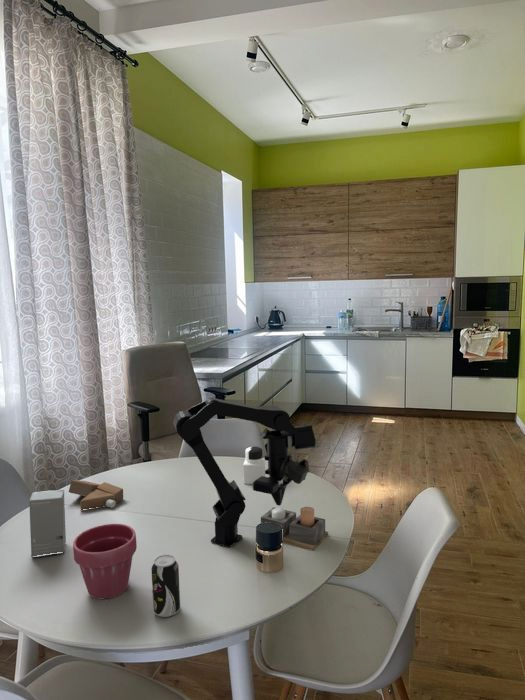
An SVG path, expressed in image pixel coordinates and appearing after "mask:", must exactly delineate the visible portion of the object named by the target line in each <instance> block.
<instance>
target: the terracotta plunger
mask: <svg viewBox="0 0 525 700" xmlns="http://www.w3.org/2000/svg"><path fill="white" fill-rule="evenodd" d="M299 512H300V514H299V515H300V524H301V525H303V526H307V527H311V528H312V527H313V526H314V517H315V508H314V507H312V506H303V507H301V508H300V511H299Z"/></svg>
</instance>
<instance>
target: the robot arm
mask: <svg viewBox="0 0 525 700" xmlns="http://www.w3.org/2000/svg"><path fill="white" fill-rule="evenodd" d="M215 416H222V417H227V418H231V419H232V418H233V419H238V420H239V419H240V420H242V421H243V420H244V421H250V422H253V423H254V422H255V423H257V424H260V425H262V426H264V427H265V428H264V430H263V431H262V432H260V433H259V436H260V437H261V439H263V440H267V454H266V455H265V456H264V458H265V461H267V469H265V475H269V476H265V477H264V476H261V477H260V478H258V479H257V480H255V481H254V482H253V484H252V490H253V491H255V492H258V493H264V494H267V495H268V494H269V495H271V498H273V501H274V503H275V504H276V506H281V505H282V504H283V500H284V496H285V493H286V489H287V486H288V485H289V484H291V483H292V482H294V483H295V484H297V485H298V484H301V483H302V482H303V481H305V480H306V477H307V475H308V473H310V466H309V461H308V460H306V459H304V458H303V459H302V460H301V461H297V460H295V461H294V460H293V456H292V454H291V453H289V447H290V448H292V450H294V451H299V450H308V449H309V450H310V449H314V448H315V447H316V443H317V441H316V440H317V439H316V437H315V433H314V430H313V425H312V424H310V423H306V424H305V423H304V424H301V425H293V424H292V422H291V417H290V415H289V413H288V412H287V411H286V410H285V409H283V408H282V407H281V406H279V405H266V404H265V405H260V406H258V405H256V406H255V405H251V404H245V403H241V402H234V401H229V400H225V399H218V398H216V397H213V396H212V397H208V398H206V399H205V400H203V401H201V402H200V403H197V404H196V405H193V406H191V407H190V408H188V409H187V410H181V411H178V412H177V413H175V416H174V417H173V425H174V428H175V431H176V433H177V434H178V436H179V437H180V438H181V439H182V440H183V441H184V442H185V443H186V445H188V446H189V447H190V448H191V449H192V451H193V452H194V454H195V455H196V457H197V459H198V460H199V462H200V464H201V466H202V467H203V469H204V470H205V472H206V473H207V476H208V477H209V479H210V481H211V483H212V484H213V485H214V487H215V490H216V494H217V496H218V500H217V501H216V502H215V503H214V504H213V506H212V510H213V512H214V514H215V521H214V537H212V538H211V539H210V542H211V543H213V544H217V545H220V546H224V547H227V548H231V547H232V546H234V545H235V544H236V543H237V542H238V541H239V540H241V539H243V535H241V534H239V533H238V529H239V528H238V524H239V520H240V518H241V515H242V514H243V513H244V511H245V509H246V507H247V506H246V503H245V501H246V500H247V499H246V497H245V495H244V494H243V492H242V491H241V489H240V487H239V485H238V484H237V482H236V481H235V480H234V479H232V480H231V482H230V481H229V480H228V479H227V478H226V476H225V475H224V473H223V472H222V470H221V468H220V466H219V464H218V463H217V461H216V459H215V458H214V456H213V455H212V453H211V451H210V450H209V448H208V446H207V444H206V443H205V441H204V437H203V434H202V431H201V428H202V427H204V426H205V425H206V424H207V423H209V421H210V420H211V419H213V418H214V417H215ZM269 429H271V430H269Z"/></svg>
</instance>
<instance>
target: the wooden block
mask: <svg viewBox="0 0 525 700" xmlns="http://www.w3.org/2000/svg"><path fill="white" fill-rule="evenodd" d="M70 481H71V482H70V484H69V487H68V488H69V489H68V493H70V494H73V495H74V494H75V495H79V496H82V497H83V498H82V499H81V500H80V502H79V506H80V511H81V510H83V509H89V508H96V507H101V508H104V507H103V506H106V507H108V508H111V509H114V508H115V506H116V505H117V504H119V503H120V502H121V501H122V500H124V489H123V488H122V487H119V486H116V485H114V484H110V483H108V482H105V481H104V482H102V483H101V484H100V483H97V482H92V481H91V482H90V481H86V480H81V479H80V480H78V479H77V480H76V479H71V480H70ZM96 509H97V508H96Z"/></svg>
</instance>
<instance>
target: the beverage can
mask: <svg viewBox="0 0 525 700" xmlns="http://www.w3.org/2000/svg"><path fill="white" fill-rule="evenodd" d="M150 570H151V583H152V588H151V589H152V603H153V605H152V606H153V607H152V608H153V612H154V614H155V615H157V616H158V617H162V618H168V617H169V618H170V617H172V616H174V615H175V614H177V613H178V612H179V611H180V610H181V593H180V592H181V591H180V572H179V571H180V570H179V563H178V561H177V560H176V557H175V556H174V555H170V554H162V555H159V556H157V557H156V558H155V559H154V560H153V564H152V566H151V569H150Z"/></svg>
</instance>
